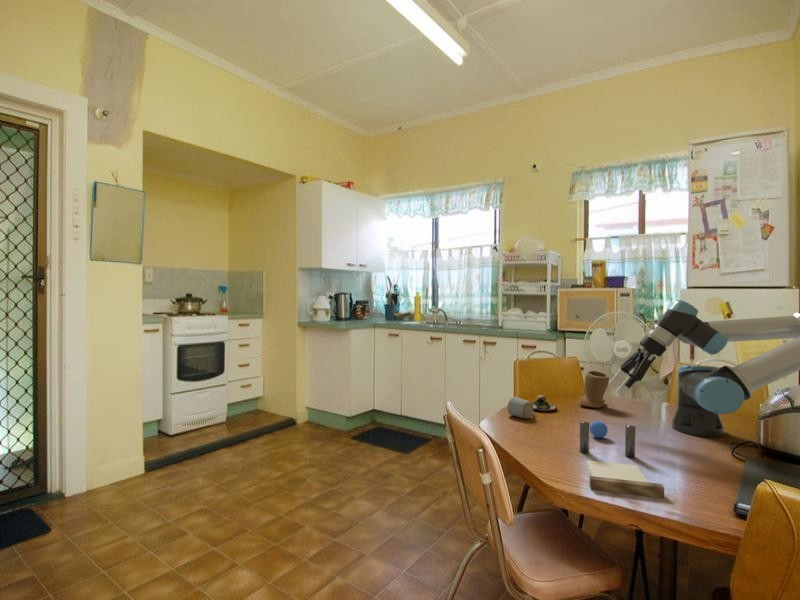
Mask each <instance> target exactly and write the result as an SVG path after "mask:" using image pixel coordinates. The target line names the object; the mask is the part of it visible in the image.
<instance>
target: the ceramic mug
mask: <svg viewBox="0 0 800 600" xmlns="http://www.w3.org/2000/svg"><path fill="white" fill-rule="evenodd" d="M532 403H533V402H531V401H529V400H526V399H523V398H520V397H517V396H513V397H511V398H510V399H509V400H508V404H507V412H508V414H509V415H510V416H512V417H517V418H521V419H524V420H525V419H526V420H527V419H530V418H531V417H532V416H534V414H535V411H534V409H533V405H532Z"/></svg>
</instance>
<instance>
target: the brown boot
mask: <svg viewBox="0 0 800 600" xmlns="http://www.w3.org/2000/svg"><path fill="white" fill-rule="evenodd" d="M609 382H610V376H609V375H608V374H607V373H605V372H602V371H598V370H588V371H586V373H585V376H584V382H583V383H584V390H585V394H583V396H582V397H581V398H580V399H579V400H578V404H579V405H581V406H583V407H588V408H596V409H597V408H598V409H599V408H602V407H603V406H604V405H605V402H606V399H605V398H604V395H605V393H606V390H607V389H608V386H609Z"/></svg>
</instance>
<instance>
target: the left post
mask: <svg viewBox="0 0 800 600" xmlns="http://www.w3.org/2000/svg"><path fill="white" fill-rule="evenodd" d="M579 452H580V453H581V454H586V455H587V454H589V453H590V422H589V421H579Z"/></svg>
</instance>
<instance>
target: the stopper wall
mask: <svg viewBox="0 0 800 600" xmlns="http://www.w3.org/2000/svg"><path fill="white" fill-rule="evenodd" d="M589 488H590V490H594V491H603V492H609V493H617V494H618V493H619V494H628V495H633V496H634V495H636V496H643V497H653V498H659V499H660V498H661V499H665V487H664V485H663V484H662V483H655V482H648V481H647V482H639V481H630V480H621V479H613V478H604V477H595V476H592V475H589Z"/></svg>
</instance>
